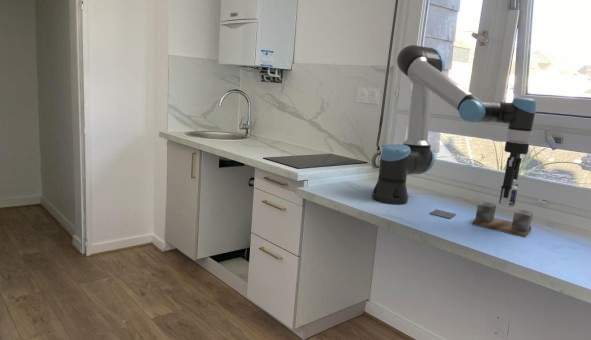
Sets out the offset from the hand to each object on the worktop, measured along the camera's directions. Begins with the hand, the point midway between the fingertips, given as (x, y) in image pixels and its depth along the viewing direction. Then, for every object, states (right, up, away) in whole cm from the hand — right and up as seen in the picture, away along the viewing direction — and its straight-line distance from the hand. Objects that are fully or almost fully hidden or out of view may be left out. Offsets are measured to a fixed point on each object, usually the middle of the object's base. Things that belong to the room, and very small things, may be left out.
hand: (506, 204), depth 160 cm
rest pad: (-19, -5, +11) cm, 23 cm away
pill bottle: (0, -1, 0) cm, 1 cm away
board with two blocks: (-1, -8, +2) cm, 9 cm away
